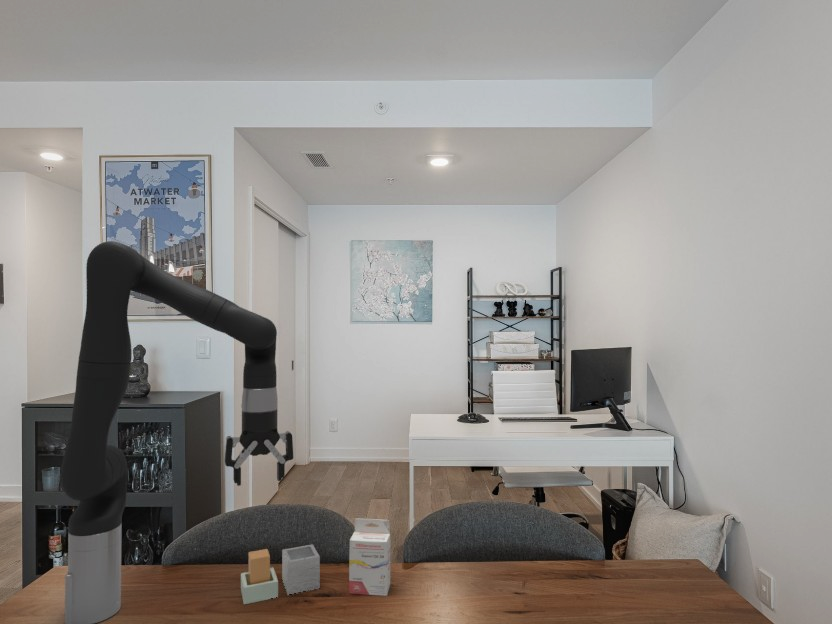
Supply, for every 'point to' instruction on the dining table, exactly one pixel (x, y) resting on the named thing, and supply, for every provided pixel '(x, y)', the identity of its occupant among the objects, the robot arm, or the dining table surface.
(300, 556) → the upper socket
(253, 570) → the plug
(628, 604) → the dining table surface
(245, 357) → the robot arm
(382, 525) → the ink cartridge box
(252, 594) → the lower socket
